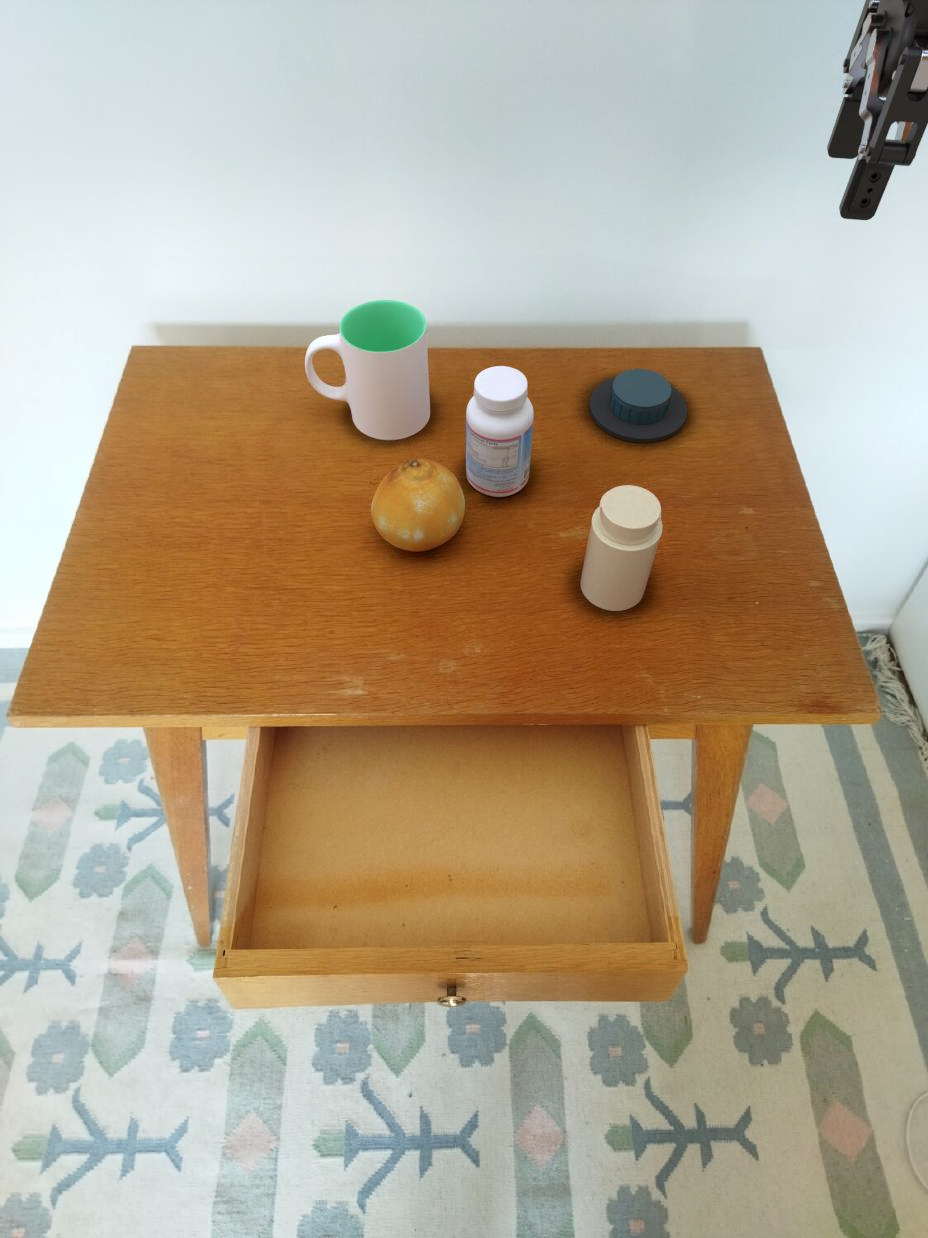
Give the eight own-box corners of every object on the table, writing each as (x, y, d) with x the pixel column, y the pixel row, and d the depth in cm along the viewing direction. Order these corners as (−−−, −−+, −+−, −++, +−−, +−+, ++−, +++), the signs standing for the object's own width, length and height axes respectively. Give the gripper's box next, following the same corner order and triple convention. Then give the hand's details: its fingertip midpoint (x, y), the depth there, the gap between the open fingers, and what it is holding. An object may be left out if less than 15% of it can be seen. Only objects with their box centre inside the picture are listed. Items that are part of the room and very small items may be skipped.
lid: (615, 381, 87) (618, 363, 85) (672, 393, 86) (676, 375, 84) (602, 417, 83) (606, 399, 82) (661, 430, 82) (666, 412, 80)
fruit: (397, 461, 77) (381, 435, 69) (479, 485, 76) (473, 462, 68) (370, 543, 77) (351, 527, 69) (452, 569, 76) (442, 556, 68)
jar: (646, 565, 73) (668, 484, 65) (643, 615, 70) (666, 537, 62) (583, 556, 73) (597, 476, 65) (577, 606, 70) (592, 528, 62)
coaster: (686, 383, 87) (687, 379, 87) (686, 448, 82) (687, 443, 81) (592, 374, 88) (593, 369, 88) (585, 437, 83) (586, 432, 82)
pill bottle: (496, 446, 82) (500, 350, 73) (541, 477, 79) (551, 382, 70) (452, 476, 79) (451, 381, 70) (497, 509, 77) (502, 415, 68)
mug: (310, 441, 82) (292, 354, 74) (316, 389, 87) (300, 301, 78) (430, 439, 82) (426, 351, 74) (430, 386, 87) (426, 298, 79)
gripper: (1070, -79, 39) (920, 244, 52) (1005, -156, 47) (889, 140, 61) (907, -86, 40) (799, 235, 53) (871, -160, 48) (785, 133, 61)
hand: (847, 184), depth 57 cm, fingers open, 8 cm apart
